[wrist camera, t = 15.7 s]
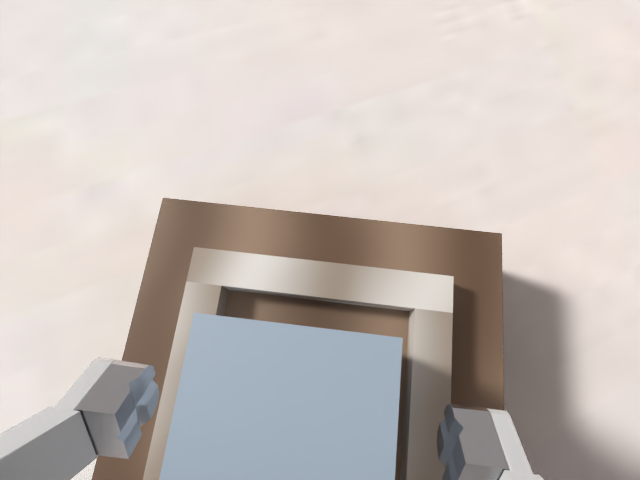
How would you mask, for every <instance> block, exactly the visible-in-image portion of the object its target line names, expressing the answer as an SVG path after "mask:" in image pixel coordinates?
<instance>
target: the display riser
mask: <svg viewBox="0 0 640 480" xmlns="http://www.w3.org/2000/svg"><path fill="white" fill-rule="evenodd" d="M194 313H201V314H210V315H218V316H226V317H234V318H243V319H251V320H259V321H268V322H276V323H284V324H292V325H301V326H309V327H317V328H326V329H334V330H342V331H350V332H359V333H367V334H375V335H384V336H392V337H400V338H403V343H402V361H401V379H400V397H399V415H398V433H397V450H396V468H395V480H442V476H443V474H444V471H445V467H444V466H443V465H442V463H441V462H440V461H439V458H438V452H437V431H438V427H439V424H440V422H442V421H444V420H445V416H444V410H445V407H446V406H447V405H448V404H457V405H466V406H475V407H483V408H486V409H487V408H488V409H495V410H503V411H504V368H503V292H502V234H500V233H491V232H481V231H472V230H462V229H453V228H443V227H434V226H424V225H415V224H405V223H396V222H387V221H377V220H368V219H358V218H349V217H339V216H330V215H320V214H311V213H301V212H292V211H282V210H273V209H264V208H254V207H245V206H235V205H226V204H216V203H207V202H197V201H188V200H178V199H169V198H163V200H162V204H161V208H160V212H159V216H158V220H157V224H156V228H155V232H154V235H153V239H152V243H151V247H150V251H149V255H148V259H147V263H146V267H145V271H144V275H143V279H142V283H141V287H140V291H139V295H138V299H137V303H136V307H135V311H134V315H133V318H132V322H131V326H130V330H129V334H128V338H127V342H126V346H125V350H124V354H123V358H122V361H126V362H133V363H139V364H145V365H151V366H154V370H155V376H154V378H153V379H152V380H153V381H154V382H155V383H156V384H157V385H158V388H159V400H158V403H157V406H156V410H155V412H154V414H153V416H152V417H151V419H150V420H149V421H148V422H146V423H145V424H144V425H142V426H141V433H142V436H141V437H140V439H139V441H138V443H137V445H136V446H135V448H134V450H133V452H132V454H131V455H130V457H129V459H125V458H116V457H107V456H99V455H98V457H97V461H96V465H95V469H94V473H93V477H92V480H159V478H160V473H161V468H162V463H163V459H164V454H165V449H166V444H167V439H168V435H169V430H170V425H171V420H172V415H173V411H174V406H175V401H176V396H177V391H178V386H179V382H180V377H181V372H182V367H183V362H184V358H185V353H186V348H187V343H188V338H189V334H190V329H191V324H192V319H193V314H194Z"/></svg>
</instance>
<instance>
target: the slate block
mask: <svg viewBox="0 0 640 480" xmlns="http://www.w3.org/2000/svg"><path fill="white" fill-rule="evenodd" d="M402 343H403V338H400V337H392V336H384V335H375V334H367V333H359V332H350V331H342V330H334V329H326V328H317V327H309V326H301V325H292V324H284V323H276V322H268V321H259V320H251V319H243V318H234V317H226V316H218V315H210V314H201V313H194V314H193V319H192V324H191V329H190V334H189V338H188V343H187V348H186V353H185V358H184V362H183V367H182V372H181V377H180V382H179V386H178V391H177V396H176V401H175V406H174V411H173V415H172V420H171V425H170V430H169V435H168V439H167V444H166V449H165V454H164V459H163V463H162V468H161V473H160V478H159V480H395V468H396V450H397V433H398V415H399V397H400V379H401V361H402Z"/></svg>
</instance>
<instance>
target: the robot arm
mask: <svg viewBox="0 0 640 480" xmlns="http://www.w3.org/2000/svg"><path fill="white" fill-rule="evenodd" d="M154 376H155V370H154V366H151V365H145V364H139V363H133V362H126V361H120V360H113V359H106V358H98V359H96V360H94V361H93V362H92V363H91V364H90V365H89V367H88V368H87V369H86V370H85V371H84V373H83V374H82V375H81V376H80V377H79V379H78V380H77V381H76V382H75V383H74V385H73V386H72V387H71V388H70V389H69V391H68V392H67V393H66V394H65V395H64V397H63V398H62V399H61V400H60V401H59V403H58V404H57V405H56V406H55V407H48V408H46V409H44V410H43V411H41V412H39V413H37V414H35V415H34V416H32V417H30V418H28V419H26V420H25V421H23V422H21V423H19V424H18V425H16V426H14V427H12V428H10V429H9V430H7V431H5V432H3V433H2V434H0V480H70V479H71V478H73V477H74V476H75V475H76V474H78V473H79V472H80V471H81V470H82V469H84V468H85V467H86V466H87V465H88V464H90V463H91V462H92V461H93V460H94V459H96V458H97V455H99V456H107V457H116V458H125V459H129V457H130V455H131V454H132V452H133V450H134V448H135V446H136V445H137V443H138V441H139V439H140V437H141V436H142V433H141V426H142V425H144V424H145V423H146V422H148V421H149V420H150V419H151V417H152V416H153V414H154V412H155V410H156V406H157V403H158V400H159V388H158V385H157V384H156V383H155V382H154V381H153V380H152V379H153V378H154ZM444 416H445V420H444V421H442V422H440V424H439V427H438V431H437V452H438V458H439V461H440V462H441V463H442V465H443V466H444V467H445V471H444V474H443V476H442V480H544V479H543V478H542V477H541V476H540V475H537V474H533V472H532V469H531V467H530V464H529V462H528V459H527V456H526V454H525V451H524V449H523V446H522V444H521V441H520V439H519V436H518V434H517V431H516V429H515V426H514V424H513V421H512V419H511V416H510V414H509V413H508V412H507V411H503V410H495V409H488V408H487V409H486V408H483V407H475V406H466V405H457V404H448V405H447V406H446V407H445V410H444Z"/></svg>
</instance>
